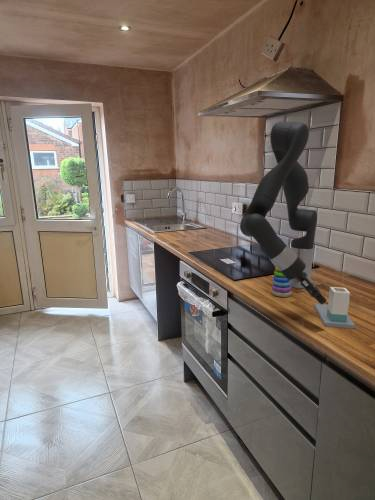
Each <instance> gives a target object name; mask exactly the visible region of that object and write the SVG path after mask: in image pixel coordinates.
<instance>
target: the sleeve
mask: <svg viewBox="0 0 375 500" xmlns="http://www.w3.org/2000/svg"><path fill="white" fill-rule="evenodd" d="M350 297H351V292H350V291H349V290H348V289H347V288H346V287H339V286H338V287H337V286H330V287H329V293H328V302H327V303H328V304H327V305H328V309H327V316H328V318H329V319H330V321H335V322H346V321H347V315H348V312H349V304H350Z"/></svg>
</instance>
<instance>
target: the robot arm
mask: <svg viewBox="0 0 375 500" xmlns="http://www.w3.org/2000/svg"><path fill="white" fill-rule="evenodd" d="M309 130H310V129H309V126H308V125H307V124H306V123H304V122H295V121H294V122H293V121H279V122H276V123H275V124H273V126H272V128H271V130H270V134H269V135H270V145H271V149H272V151H273V155H274V157H275V161H276V163H277V164H276V165H275V166H274V167H273V168H272V169H271V170H269V171H268V172H267V173H266V174H265V175H264V176H263V177H262V178H261V179H260V181H259V183H258V185H257V187H256V190H255V192H254V194H253V196H252V197H253V198H252V200H251V202H250V204H248V207H247V208H246V210H245V212H244V214H243V216H242V218H241V221H240V224H239V229H240V231H241V233H242V234H243V235H244V236H246V237H252V238H253V239H254V240H255V241H256V242H257V243H258V245H259V249H260V250H261V251H262V253H263V254H264V255H265V256H266V257H267V258H268V259H269V260H270V262H271V263H272V264H273V266H274V268H275V267H276V268H277V269H278V270H279V271H280V272H281V273H282V274H283V275H284V276H285V277H286V278H287V279H288V280H290V282H291V285H290V286H291V288H295V289H303V290H305V292H307V293H308V294H309V295H310V296H311V297H312V298H314V299H315V300H316V301H317V302H318V304H326V302H327V299H326V298H325V296H324V295H322V294H321V292H320V291H321V290H320V289H319V288H318V287H317V286H316V284H315V283H314V282H313V281H312V280H313V279H312V278H311V277H312V276H311V275H312V267H313V266H312V265H313V257H314V245H315V239H316V238H315V236H316V230H317V225H318V224H317V222H318V212H317V210H314V209H303V208H302V209H301V208H299V205H300V204H301V202H302V201H303V200H304V199H305V198H306V196H307V194H308V193H309V190H310V186H309V185H310V184H309V178H308V173H307V171H306V170H305V169H304V167H303V166H302V165H301V164H300V162H299V161H298V160H299V158H300V157H301V155H302V154H303V152H304V150H305V148H306V146H307V144H308V141H309V137H310V136H309V135H310V131H309ZM281 189H282V190H283V193H284V198H285V203H286V207H287V208H286V209H287V217H288V225H289V228H290V230H292V231H296V232H303V233H304V232H305V235H303V236H300V237H296V238H293V239H291V241H290V247H289V246H288V244H286V243H285V242H284V241H283V239H282V238H280V237H279V235H278V234H277V233H276V230H275V229H274V228H273V227H272V225H271V224H270V222H269V221H268V219H266V216H267V214H268V213H269V212H270V211H271V210H272V209H273V207H274V205H275V203H276V201H277V198H278V197H279V194H280V191H281Z"/></svg>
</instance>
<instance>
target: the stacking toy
mask: <svg viewBox="0 0 375 500" xmlns="http://www.w3.org/2000/svg"><path fill="white" fill-rule="evenodd" d="M274 269H275V270H274V272H273V274H274V275H273V280H272V285H271V290H270V293H271V295H273V296H275V297H279V298H288V297H290V296H291V295H292V291H291V290H292V287H291V286H290V285H291V282H290V280H288V279H287V278H286V277H285V276H284V275H283V274H282V273H281V272H280V271H279V270H278V269H277V268H276V267H275V266H274Z"/></svg>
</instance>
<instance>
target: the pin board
mask: <svg viewBox="0 0 375 500" xmlns="http://www.w3.org/2000/svg"><path fill="white" fill-rule="evenodd" d="M313 308H314V310H315V311H316V313H317V315H318V317H319V319H320V320H321V322H322V324H323V325H324V327H328V328H329V327H331V328H340V329H341V328H344V329H345V328H346V329H356V324H355V323H354V321H353V320H352V319H351V318H350V316H349V315H348V314H347V321H346V322H335V321H330V319H329V318H328V316H327V309H328V304H327V303H324V304H320V303H314V304H313Z"/></svg>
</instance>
